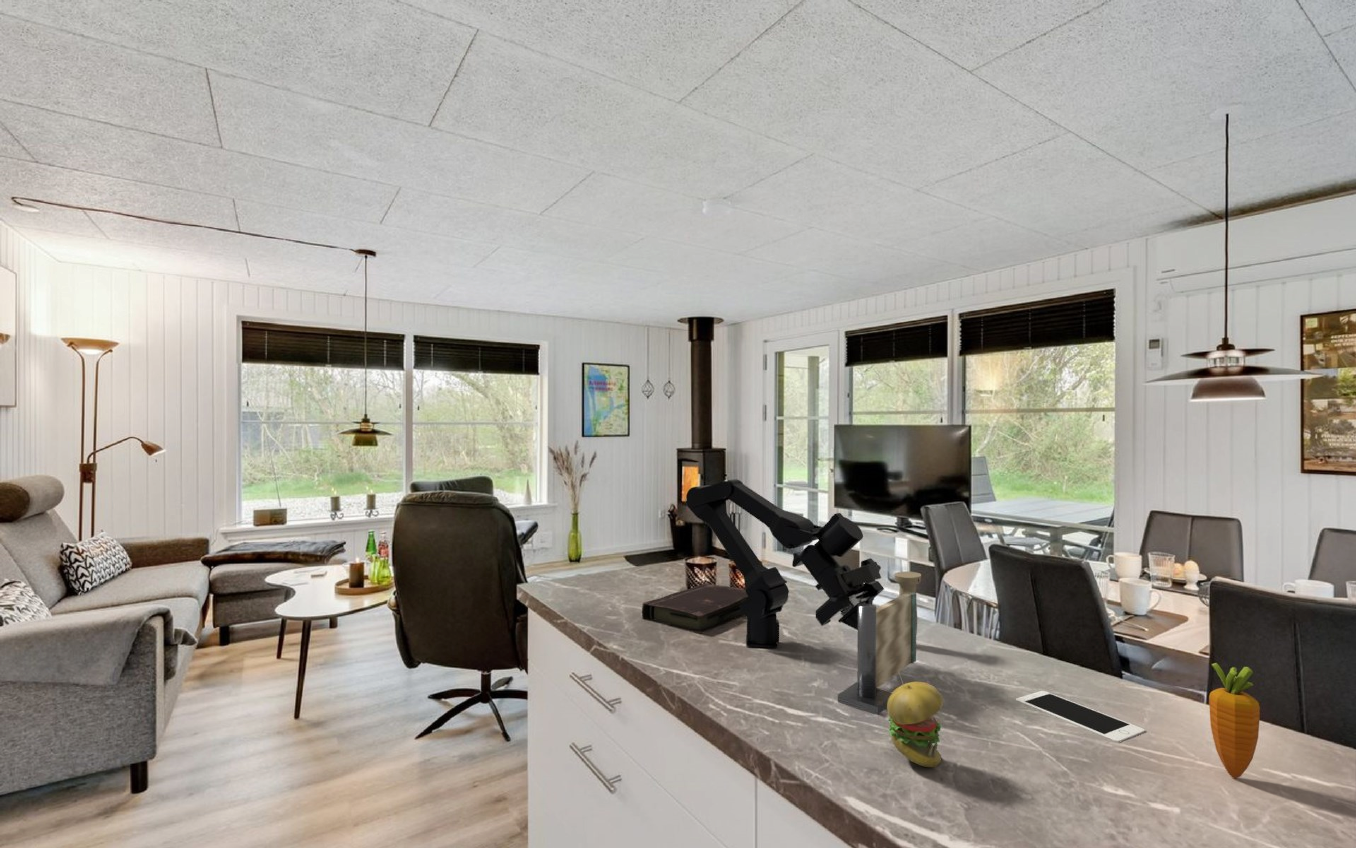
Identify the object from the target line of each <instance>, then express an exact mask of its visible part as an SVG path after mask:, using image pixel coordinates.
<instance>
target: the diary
mask: <svg viewBox="0 0 1356 848" xmlns="http://www.w3.org/2000/svg"><path fill="white" fill-rule="evenodd" d="M747 598H748V595H747V593H746V590H745V588H739V587H734V586H727V585H719V584H710V583H703V584H699V585H696V586H695V587H694V586H693V587H691V588H689V589H684V590H680V591H676V592H673V593H671V594H668V595H666V596H663V597H659V598H656V599H652V600H648V601H645V602H643V603H642V604H641V605H642V606H641V618H642V620H646V619H649V618H650V620H649V622H650V621H653V620H654V621H655V622H659V623H663V624H667V625H668V626H669V627H672V628H675V629H679V630H683V631H685V632H686V631H687V632H690V633H695V634H703V633H706V632H709V631H711V630H714V629H716V628H718V627H721V626H723V625H725V624H728V623H729V622H732V621H736V620H738V619H740V617H743V616H742V615H741V611H740V608H739V606H740V605H741V604H742V603H743V602H744V601H745V600H746V599H747Z"/></svg>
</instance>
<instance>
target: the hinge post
mask: <svg viewBox="0 0 1356 848" xmlns="http://www.w3.org/2000/svg"><path fill="white" fill-rule="evenodd" d="M876 608H877V606H876V605H875V604H873V603H872V604H866V603H863V604H858V630H857V651H856V652H857V665H856V666H857V670H856V671H857V673H856V674H857V680H856V682H854V683H853V684H851V685H850V686H848V687H847V688H846V689H843V691H841V692H840V693H838V694H837V702H838V703H840V704H843V705H846V706H850V707H853V708H856V709H859V710H862V711H865V712H868V713H871V712H872V714H875V715H879V714H881V713H882V712H883V711H884V710H885V709H887V702H888V699H889V697H890V695H891V694H892V692H893V691H892V692H891V691H888V690H885V689H881V688H879V687H878V688H877V689H876Z"/></svg>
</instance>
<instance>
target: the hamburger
mask: <svg viewBox="0 0 1356 848" xmlns="http://www.w3.org/2000/svg"><path fill="white" fill-rule="evenodd" d="M898 676H899V678H900V680H901V683H902V684H901V685H900V686H898V687H896V688H895V689H894V690H893V691H892V694H891V695H890V697H889V699H888V702H887V708H886V709H887V714H888V719H887V722H890V724H889V728H888V732H889V733H890V737H891V741H892V744H893V745H894V747H895V748H896V749H897V751H898V752H899V753H900V754H901V755H903V756H904V757H905V758H906V759H907V760H909V761H910V762H913V763H914V764H917V766H922V767H925V768H934V767H936V766H938V765H939V763H940V762H941V759H942V754H941V753H940V751H938V743H940V734H939V732H940V731H941V729H942V724H941V723H940V722H938V720H937V719H936V718H935V717H934V716H935V715H936V716H939V712H940V710H941V709H942V706H943V703H944V699H943V695H942V694H941V693H940V691H938V688H936V687H935V686H933V685H932V684H929V683H928V682H923V681H912V682H906V683H903V679H902V676H901V673H900V672H898Z"/></svg>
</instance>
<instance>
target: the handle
mask: <svg viewBox="0 0 1356 848" xmlns="http://www.w3.org/2000/svg"><path fill="white" fill-rule="evenodd" d="M893 575H894V577H893V580H894V581H895V582H896V584H898V585H899V591H898V592H899V594H898V597H899V596H901V595H903V593H905V592H913V593H916V594H917V585H919V584H920V583H921V581H922V574H921V573H920V572H916V571H915V572H914V571H899V572H895V573H894V574H893ZM917 606H918V605H917V602H916V636H917V635H918V634H917V633H918V608H917Z"/></svg>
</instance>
